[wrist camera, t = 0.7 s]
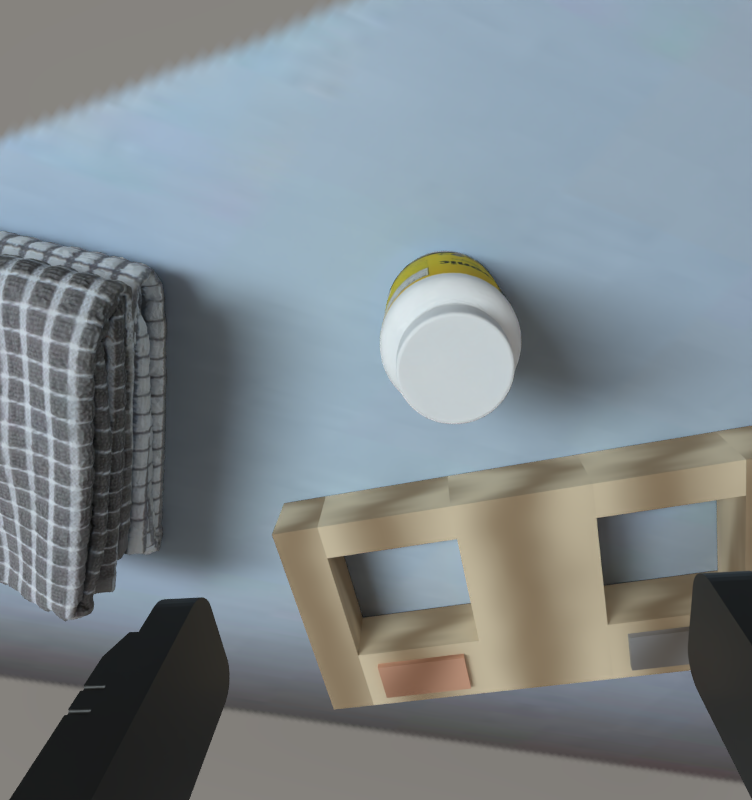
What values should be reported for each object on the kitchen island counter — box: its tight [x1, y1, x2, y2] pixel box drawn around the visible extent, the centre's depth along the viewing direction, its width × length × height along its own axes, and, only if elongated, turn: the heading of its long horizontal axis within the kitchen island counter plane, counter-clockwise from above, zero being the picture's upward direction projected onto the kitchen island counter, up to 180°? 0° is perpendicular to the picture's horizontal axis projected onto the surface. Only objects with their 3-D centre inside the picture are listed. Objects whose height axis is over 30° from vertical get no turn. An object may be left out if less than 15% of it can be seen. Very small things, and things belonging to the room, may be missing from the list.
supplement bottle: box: [380, 251, 521, 424], centre depth 24 cm, size 5×5×10 cm
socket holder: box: [272, 426, 752, 709], centre depth 32 cm, size 26×13×3 cm, turn 103°
